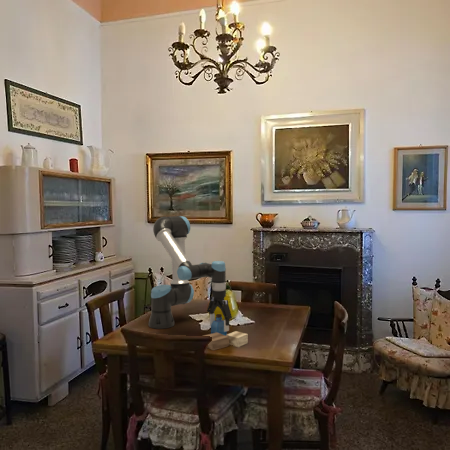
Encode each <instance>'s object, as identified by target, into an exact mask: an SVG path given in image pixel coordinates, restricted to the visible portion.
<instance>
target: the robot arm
mask: <svg viewBox="0 0 450 450" xmlns="http://www.w3.org/2000/svg"><path fill="white" fill-rule="evenodd" d="M152 228H153V235H154V237H155V238H156V240H157V241H158V242H160V244H161V245H162V246H163V248H164V249H165V250H166V252H167V254H168V255H169V257H170V259H171V271H172V280H171V282H170V284H159V285H156V286H154V287H152V289H151V290H150V291H151V293H150V297H151V298H150V300H151V301H150V302H151V304H150V305H151V314H150V317H149V320H148V327H149V328H151V329H155V330H157V329H159V330H160V329H161V330H163V329H169V328H172V327H174V326H175V320H174V317H173V313H172V307H174V306H179V305H185V304H188V303H189V304H190V303H191V302H192V300H193V298H194V295H195V290H194V289H195V288H193V285H192V284H190V281H189V280H194V279H202V278H203V279H204V278H211V289H212V290H211V296H210V297H209V303H208V307H207V310H206V311H207V313H208V314H209V326H210V327H211V324H212V323H213V321H214V320H216V314H215V311H216V309H217V308H219V309H220V310H221V312H222V313H221V314H222V316H223V318H224V319H223V321H224V332H226V331H227V332H229V331H230V320H231V319H232V318H233V317H232V312H231V308H230V306H229V300H228V299H226V300H225V298H226V297H227V296H226V295H227V293H226V292H227V290H226V289H227V285H226V284H227V283H226V277H227V276H226V271H227V269H226V262H225V261H223V260H215V261H212V262H211V263H210V262H209V263H208V262H200V263H199V264H192V263H191V261H190V260H189V258H188V256H187V255H186V240H187V238H188V234H190V233H191V223H190V221H189V219H188V218H187V217H186V216H182V215H175V216H173V215H172V216H171V215H169V216H161V217H158V218H157V219H156V221H154V224H153V227H152Z"/></svg>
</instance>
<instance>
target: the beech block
mask: <svg viewBox="0 0 450 450" xmlns="http://www.w3.org/2000/svg"><path fill="white" fill-rule="evenodd" d="M226 336H228V337H229V346H232V345H233V346H232V347H236V348H240V347H242V346H245V345H247V344H249V343H248V342H249V341H248V340H249V339H248V338H249V337H248V336H249V334H248V333H245V332H242V331H237V330H235V331H233V332H230V333H227V335H226Z"/></svg>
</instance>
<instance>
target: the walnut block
mask: <svg viewBox="0 0 450 450" xmlns="http://www.w3.org/2000/svg"><path fill="white" fill-rule="evenodd" d="M203 336H210V337H212V341H211V342H210V343H209V344H208V347H206V348H207V349H209V350H211V351H217V350H220V349H223V348H227V347H230V345H229V337H228V336H225V335H222V334H220V333H217V332H216V333H212V334H211V333H209V334H204V335H203Z"/></svg>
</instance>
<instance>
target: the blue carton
mask: <svg viewBox="0 0 450 450" xmlns="http://www.w3.org/2000/svg"><path fill="white" fill-rule="evenodd" d="M222 316H223V314H222V313H217V314H215V320H214V321H213V323H212V324H211V326H210V334H212V333H216V332H217V333H220V334H222V335H225V336H226V335H227V334H228V331H226V332H224V319H223V317H222Z"/></svg>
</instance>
